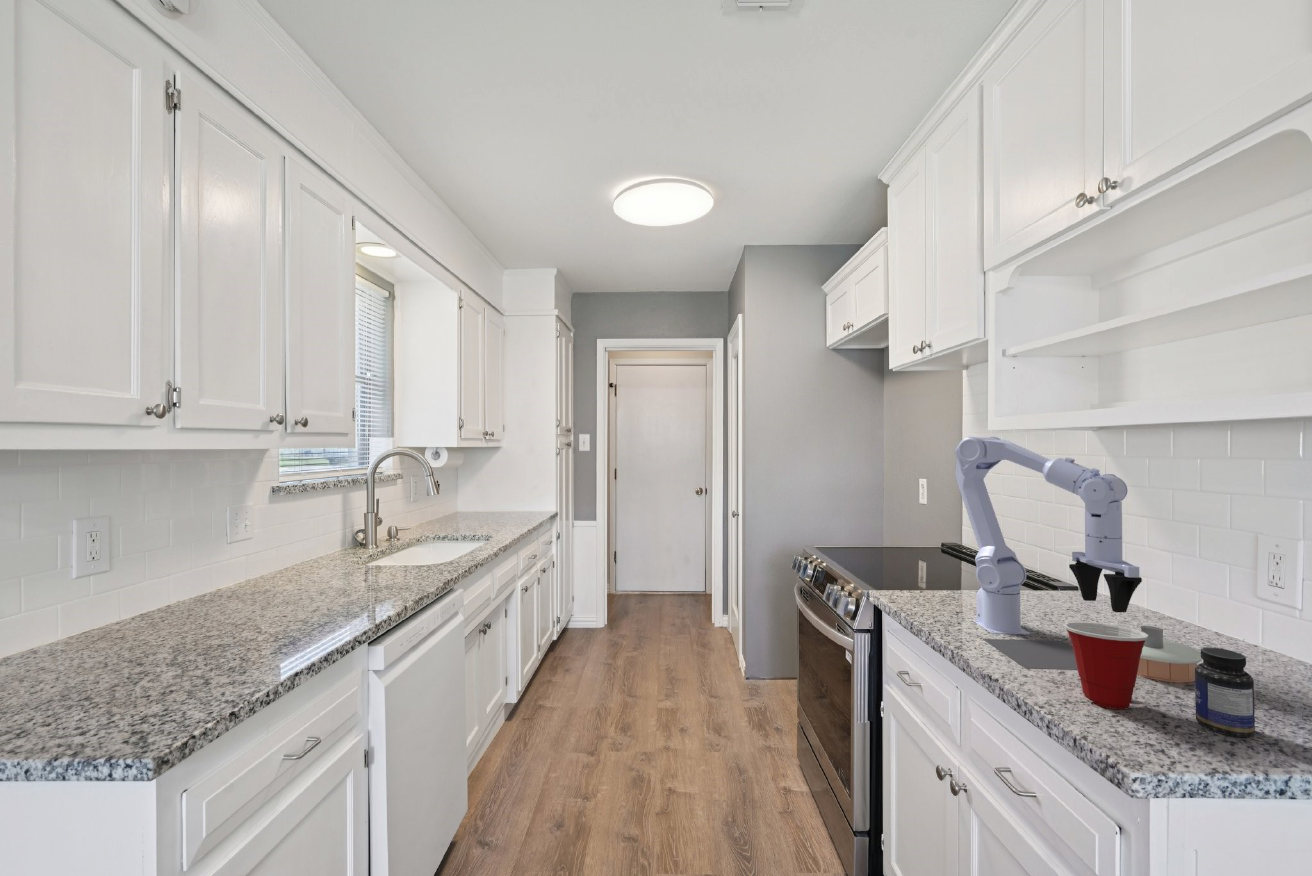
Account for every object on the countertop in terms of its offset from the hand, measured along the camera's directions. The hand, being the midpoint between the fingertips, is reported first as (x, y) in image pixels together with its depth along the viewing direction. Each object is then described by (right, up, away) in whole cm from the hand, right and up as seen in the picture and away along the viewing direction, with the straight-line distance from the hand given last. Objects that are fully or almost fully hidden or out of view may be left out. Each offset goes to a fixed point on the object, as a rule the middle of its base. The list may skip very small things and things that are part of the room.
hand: (1103, 606), depth 109 cm
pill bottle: (-4, -10, -27) cm, 29 cm away
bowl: (+4, -10, -7) cm, 13 cm away
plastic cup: (-15, -10, -18) cm, 26 cm away
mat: (-11, -10, +1) cm, 15 cm away
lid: (+3, -6, -7) cm, 10 cm away
